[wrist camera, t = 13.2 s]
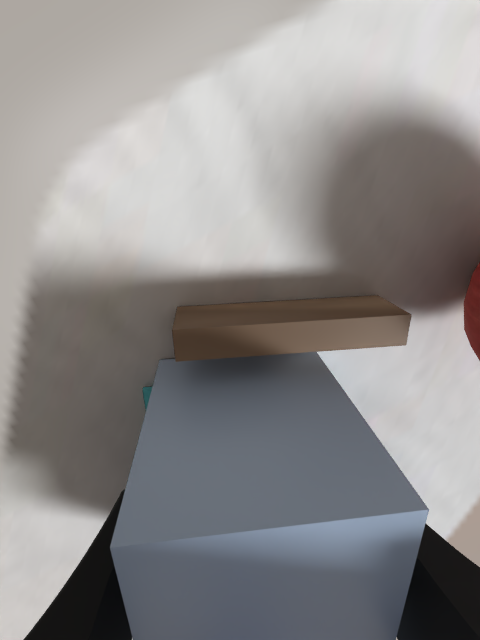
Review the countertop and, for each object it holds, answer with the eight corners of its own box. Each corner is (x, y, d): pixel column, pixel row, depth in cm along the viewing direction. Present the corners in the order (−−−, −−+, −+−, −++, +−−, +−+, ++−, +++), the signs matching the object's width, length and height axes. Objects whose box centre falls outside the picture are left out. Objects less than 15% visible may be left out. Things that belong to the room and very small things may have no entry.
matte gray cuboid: (303, 521, 15) (369, 740, 9) (182, 535, 15) (167, 777, 9) (314, 348, 12) (429, 509, 6) (159, 359, 12) (110, 547, 5)
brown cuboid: (374, 321, 12) (406, 345, 10) (179, 334, 11) (175, 361, 9) (377, 295, 12) (411, 314, 10) (177, 306, 11) (172, 330, 9)
